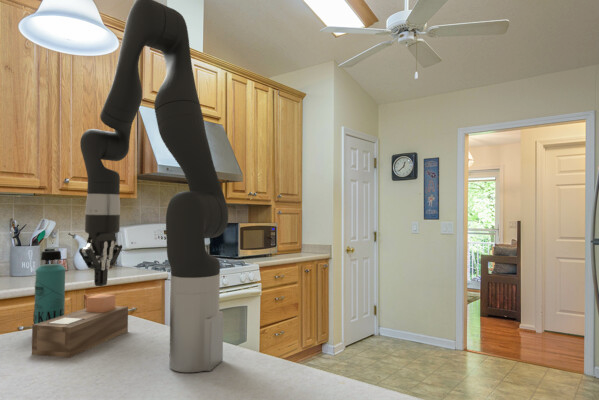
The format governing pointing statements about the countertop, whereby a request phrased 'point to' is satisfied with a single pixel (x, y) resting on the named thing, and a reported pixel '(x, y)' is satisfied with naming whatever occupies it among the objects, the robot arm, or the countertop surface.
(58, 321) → the white plug
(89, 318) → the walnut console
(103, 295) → the terracotta plug
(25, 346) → the countertop surface
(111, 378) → the countertop surface
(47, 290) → the beverage bottle
